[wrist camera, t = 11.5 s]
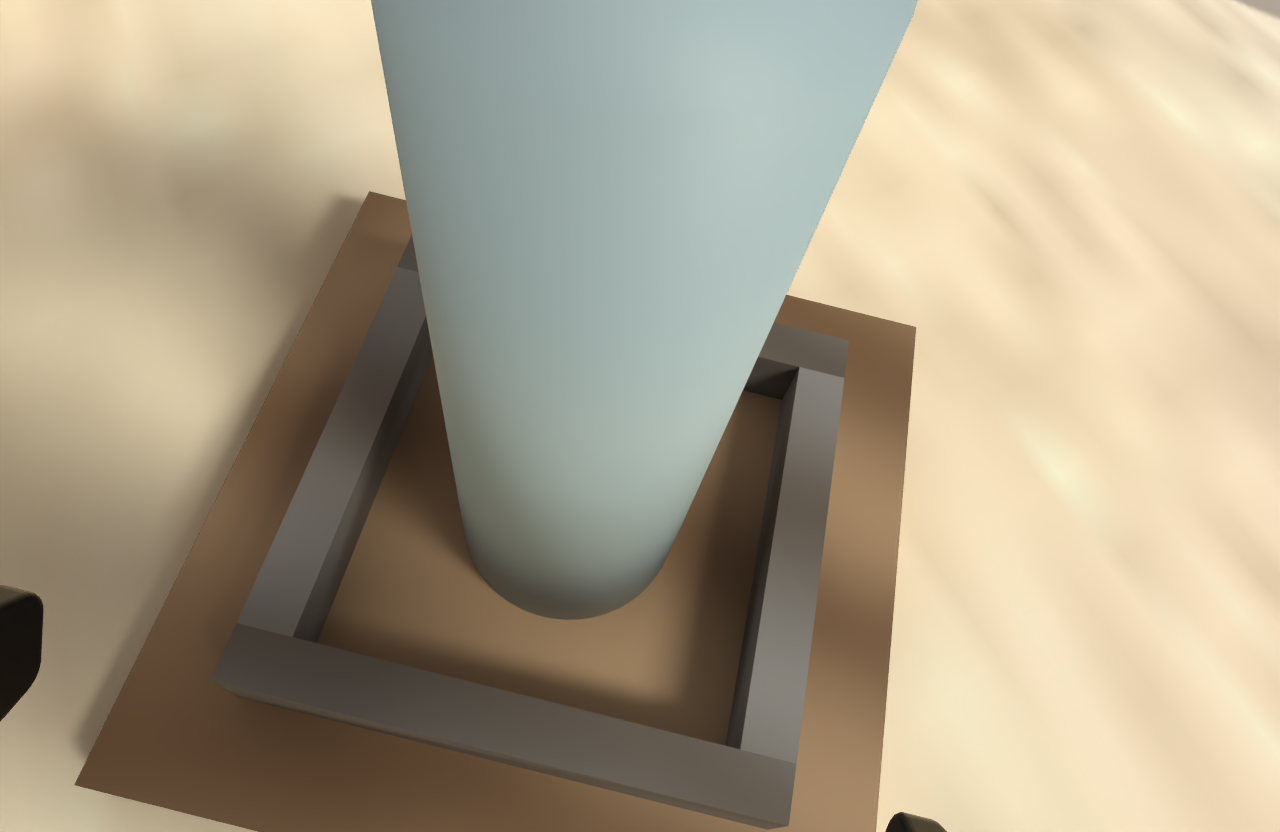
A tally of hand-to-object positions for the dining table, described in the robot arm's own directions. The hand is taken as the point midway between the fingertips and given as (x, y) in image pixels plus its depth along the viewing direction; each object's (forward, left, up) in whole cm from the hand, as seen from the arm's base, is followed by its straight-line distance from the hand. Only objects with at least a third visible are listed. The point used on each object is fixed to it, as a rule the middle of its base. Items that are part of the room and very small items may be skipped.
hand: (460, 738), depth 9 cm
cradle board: (+5, +3, -9) cm, 10 cm away
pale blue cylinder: (+5, +3, -8) cm, 9 cm away
